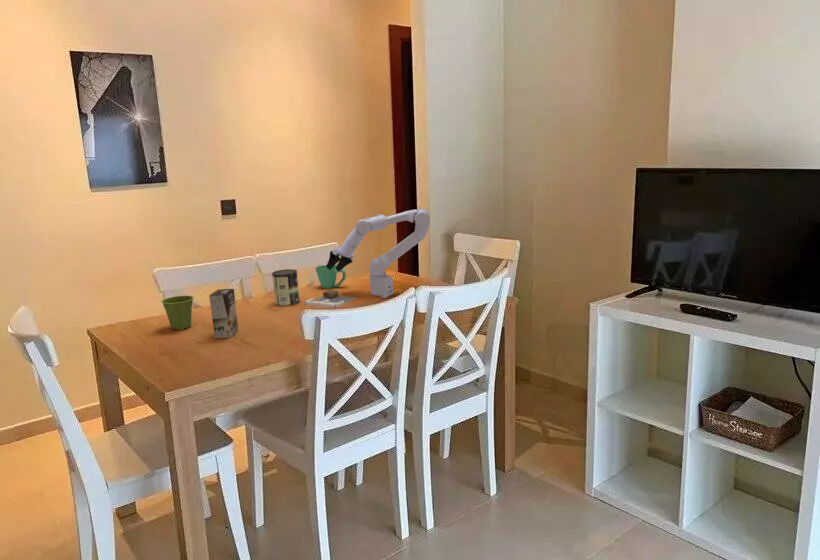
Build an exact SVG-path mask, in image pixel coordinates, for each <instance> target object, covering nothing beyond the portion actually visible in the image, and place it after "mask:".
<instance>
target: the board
mask: <svg viewBox="0 0 820 560" xmlns="http://www.w3.org/2000/svg"><path fill="white" fill-rule="evenodd" d="M356 299H358V297H354V296H346V295H345V296H344V295H338V297H335V298H333V299H328V298H323V296H321V297H319V298H317V299H316V298H315V297H312V298H310V299H307V300H304V301H303V303H304V304H303V305H307V306H314V307H315V306H317V307H324V308H325V307H326V308H334V309H335V308H338V307H341V306H343V305H345V304H347V303H350V302H351V301H355V300H356Z"/></svg>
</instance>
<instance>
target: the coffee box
mask: <svg viewBox="0 0 820 560" xmlns="http://www.w3.org/2000/svg"><path fill="white" fill-rule="evenodd" d="M208 296H209V302H210V303H209V304H210V311H211V318H212V319H211V320H212V326H213V334H214V335H213V336H214V339H230V338H233V336H235V335H236V333H237V332H238V331H239V321H238V312H237V306H236V305H237V304H236V297H235V289H234V288H225V289H223V288H222V289H216V290H215V291H214V292H212V293H211V294H209V295H208Z"/></svg>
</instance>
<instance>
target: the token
mask: <svg viewBox="0 0 820 560" xmlns="http://www.w3.org/2000/svg"><path fill="white" fill-rule="evenodd" d="M338 296H339V290H338V289H337V290H335V289H328V290H326V291H323V292H322V297H323V298H328V299H333V298H335V297H338Z"/></svg>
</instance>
